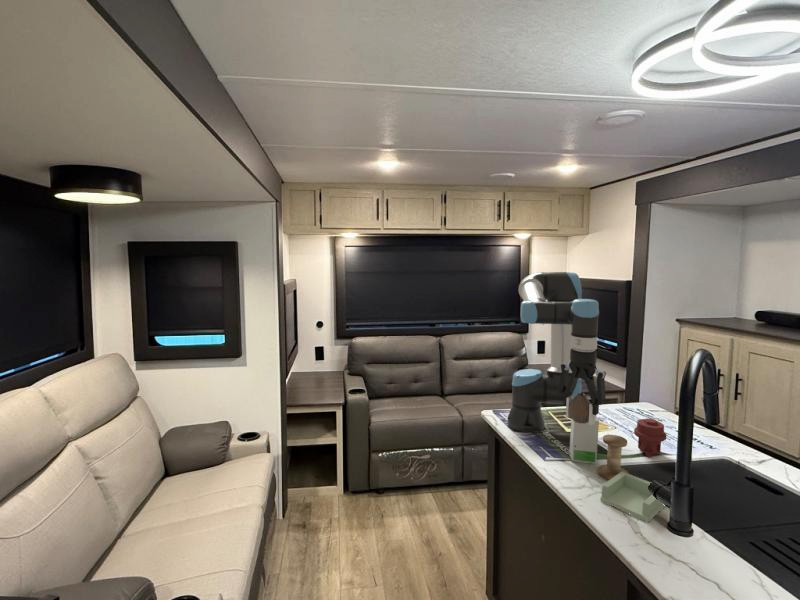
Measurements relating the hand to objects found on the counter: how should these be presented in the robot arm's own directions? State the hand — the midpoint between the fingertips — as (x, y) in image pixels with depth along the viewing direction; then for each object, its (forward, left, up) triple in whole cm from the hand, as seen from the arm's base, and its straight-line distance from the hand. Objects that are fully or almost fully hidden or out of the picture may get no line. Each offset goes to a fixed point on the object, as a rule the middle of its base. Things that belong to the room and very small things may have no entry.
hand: (580, 420), depth 135 cm
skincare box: (-6, +14, -20) cm, 25 cm away
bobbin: (+6, +11, -20) cm, 23 cm away
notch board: (+17, 0, -20) cm, 26 cm away
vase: (0, 0, -1) cm, 1 cm away
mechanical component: (+7, +36, -20) cm, 41 cm away
